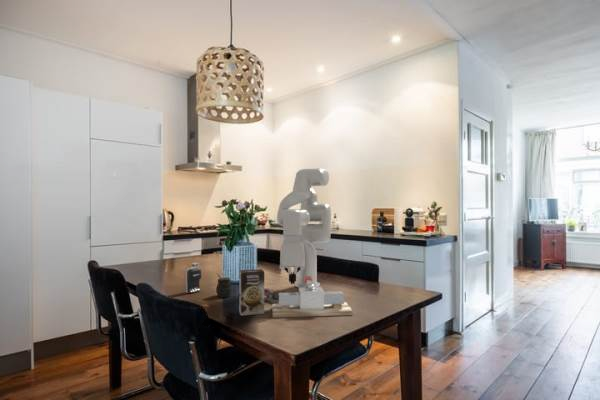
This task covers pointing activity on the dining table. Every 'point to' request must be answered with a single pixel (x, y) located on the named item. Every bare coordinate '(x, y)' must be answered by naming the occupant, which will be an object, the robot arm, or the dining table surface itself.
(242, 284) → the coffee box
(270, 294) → the walkie-talkie
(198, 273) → the battery charger
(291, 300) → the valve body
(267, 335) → the dining table surface
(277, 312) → the valve board
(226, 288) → the mate gourd
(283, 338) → the dining table surface
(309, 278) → the lever
